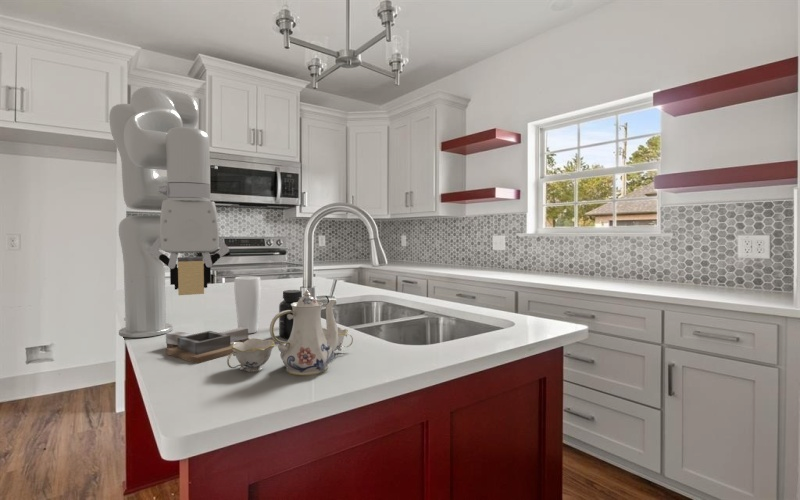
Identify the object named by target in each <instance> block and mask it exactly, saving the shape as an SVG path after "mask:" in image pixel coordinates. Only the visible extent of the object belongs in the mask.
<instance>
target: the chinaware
mask: <svg viewBox="0 0 800 500" xmlns="http://www.w3.org/2000/svg"><path fill="white" fill-rule="evenodd" d="M302 294H303V296H302V297H301V298H300V299H299V300H298V302H296V303H292V304H291V306H292V309H293V311H292V310H286V311H282V312H280V313H279V312H278V313H277V314H275V316H273V318H272V320H271V321H270V325H269V334H270V337H271V338H272V339H264V340H261V339H259V338H254V337H252V338H249V339H248V340H246V341H245V342H244V343H243V342H232V343H231V344H232V350H233V351H234V352H233V353H231V354H230V355H227V356H228V357H227V360H226V364H227V367H228V368H230V369H236V368H238V367H239V370H240V371H243V370H244V371H247V372H248V373H252V372H260V370H262V369H264V367H263V365H265V364H266V363H267V362H268V361H269V359H270V357H271V355H272V352H273V349H274V347H276V346H275V345H276V344H275V342H276V343H278V345H277V348H278V349H277V350H278V352H280V358H281V360H282V363H283V365H284V366H285V367H286V369H285V370H286V372H287V373H288V374H290V375H294V376H314V375H319V374H322V373H324V372H326V371H328V369H329V364H330V363H331V362H332V361H333V360H334V357H335V355H336V351H337V350H338V351H339V352H341V351H342V347H343V348H349V347H351V346H352V345H353V343H354V338H353V335H352V334H351V333H348V332H349V331H348V329H346V328H345V329H342V328H340V327H339V326H338V325H337V322H336V319H335V316H334V312H333V307H334V304H335V303H336V299H331V300H329V302H327V304H326V306H325V321H326V323H325V325H326V328H324V327H323V326H322V318H321V317H322V316H321V315H322V314H321V313H322V308H323V305H324V303H323V302H321V301H317V300H316V298H315V297H314V296H311V295H312V294H311V293H310V291H309V290H308V289H307V290H305V291H304V293H302ZM289 312H291V313H293V315H291V314H288V315H287V318H288V319H290V320H291V319H293V317H294V320H293V328H292V332H291V335H290V337H289V339H287V340H286V341H285V340H281V339H278V338H277V337H276V336H275V331H274V327H275V323H276V321H277V320H279V317H280V316H281V315H283V314H286V313H289ZM348 336H350V338H351V342H350V343H349V344H348V345H343V342H344V340H345V337H346V338H347V337H348ZM232 356H234V357H236V360H237V362H238V363H239V364H237V365H236V366H231V365H230V359H231V357H232Z"/></svg>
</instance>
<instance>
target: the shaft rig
mask: <svg viewBox="0 0 800 500" xmlns="http://www.w3.org/2000/svg"><path fill="white" fill-rule="evenodd" d="M248 339H250V338H249V334H248V328H243V327H241V328H238V327H237V328H232V329H227V330H223V331H218V332H215V331H213V330H208V331H203V332H199V333H198V332H197V333H190V332H184V331H175V330H173V331H170V332H168V333H165V343H166V351H165V352H166V355H169V356H172V357H175V358H179V359H182V360H184V361H187V362H191V363H194V364H201V363H204V362H207V361H212V360H215V359H219V358H222V357H226V356H229V355H230V354H231V353H233V352H234V351H233V350H232V344H233V343H234V342H243V343H244V342H245V341H246V340H248Z"/></svg>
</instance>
